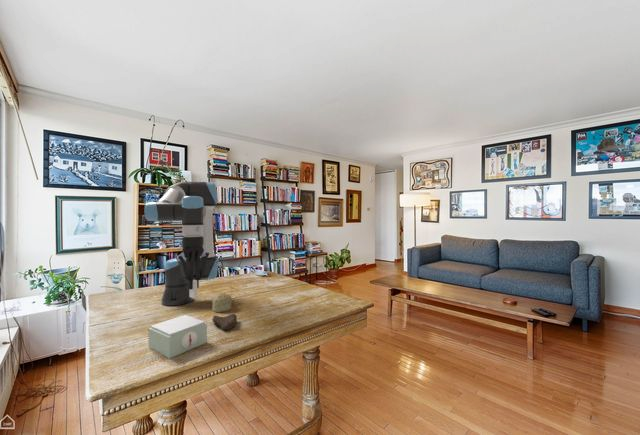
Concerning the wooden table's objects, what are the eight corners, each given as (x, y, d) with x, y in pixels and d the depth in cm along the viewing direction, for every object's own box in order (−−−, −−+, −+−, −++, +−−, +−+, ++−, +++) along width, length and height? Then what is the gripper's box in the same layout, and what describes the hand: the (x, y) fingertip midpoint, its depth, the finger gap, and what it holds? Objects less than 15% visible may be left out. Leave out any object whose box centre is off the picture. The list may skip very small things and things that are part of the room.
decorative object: (232, 316, 138) (238, 297, 144) (220, 310, 131) (227, 290, 136) (216, 316, 141) (223, 297, 147) (204, 309, 133) (212, 289, 139)
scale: (148, 347, 100) (148, 325, 99) (185, 333, 111) (185, 314, 111) (170, 359, 91) (170, 335, 91) (208, 342, 103) (208, 322, 103)
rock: (212, 322, 122) (212, 314, 122) (236, 320, 125) (237, 312, 125) (209, 332, 111) (209, 323, 111) (236, 330, 114) (236, 321, 114)
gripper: (182, 237, 99) (182, 303, 99) (213, 235, 110) (213, 294, 110) (170, 236, 103) (171, 299, 103) (202, 235, 114) (202, 291, 114)
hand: (193, 297), depth 107 cm, fingers closed
